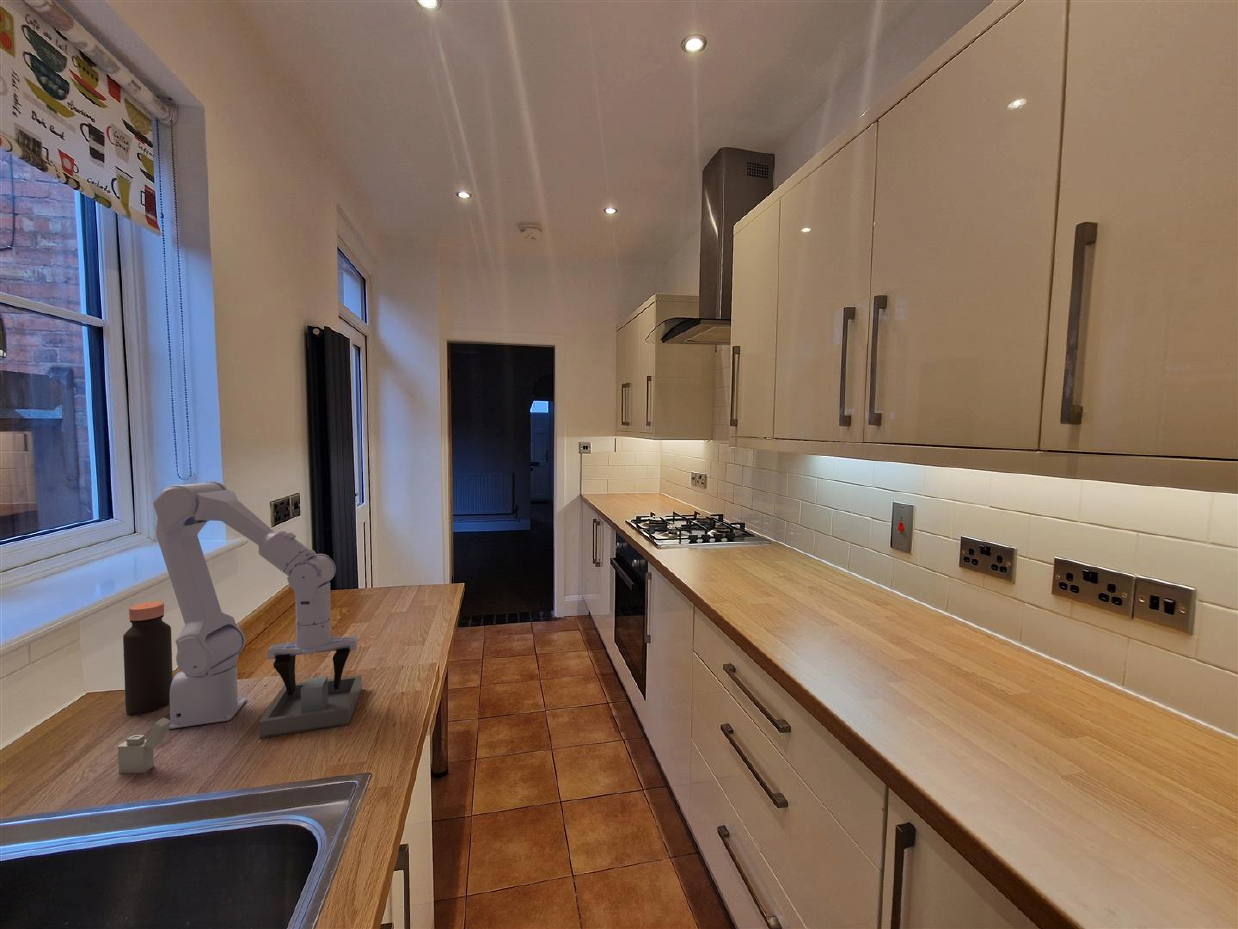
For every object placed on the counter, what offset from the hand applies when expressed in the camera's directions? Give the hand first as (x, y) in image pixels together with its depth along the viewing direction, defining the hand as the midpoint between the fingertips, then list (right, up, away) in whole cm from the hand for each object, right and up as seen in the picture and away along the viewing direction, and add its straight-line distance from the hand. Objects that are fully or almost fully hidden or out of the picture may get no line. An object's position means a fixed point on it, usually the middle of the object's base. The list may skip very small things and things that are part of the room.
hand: (314, 690), depth 96 cm
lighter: (-16, -5, -17) cm, 24 cm away
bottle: (-33, -4, +2) cm, 34 cm away
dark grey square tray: (0, -4, 0) cm, 4 cm away
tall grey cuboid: (0, -4, 0) cm, 4 cm away
